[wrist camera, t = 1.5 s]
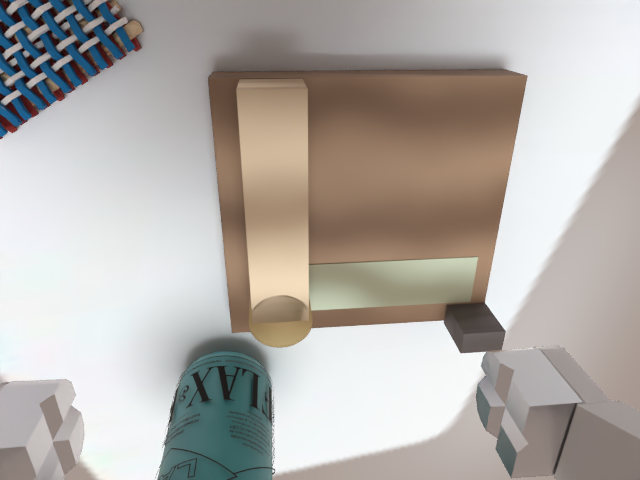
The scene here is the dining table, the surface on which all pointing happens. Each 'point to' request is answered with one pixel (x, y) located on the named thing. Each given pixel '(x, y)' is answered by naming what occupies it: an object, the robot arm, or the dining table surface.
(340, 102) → the brown wooden box
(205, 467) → the beverage bottle
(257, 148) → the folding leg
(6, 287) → the dining table surface
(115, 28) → the woven mat
